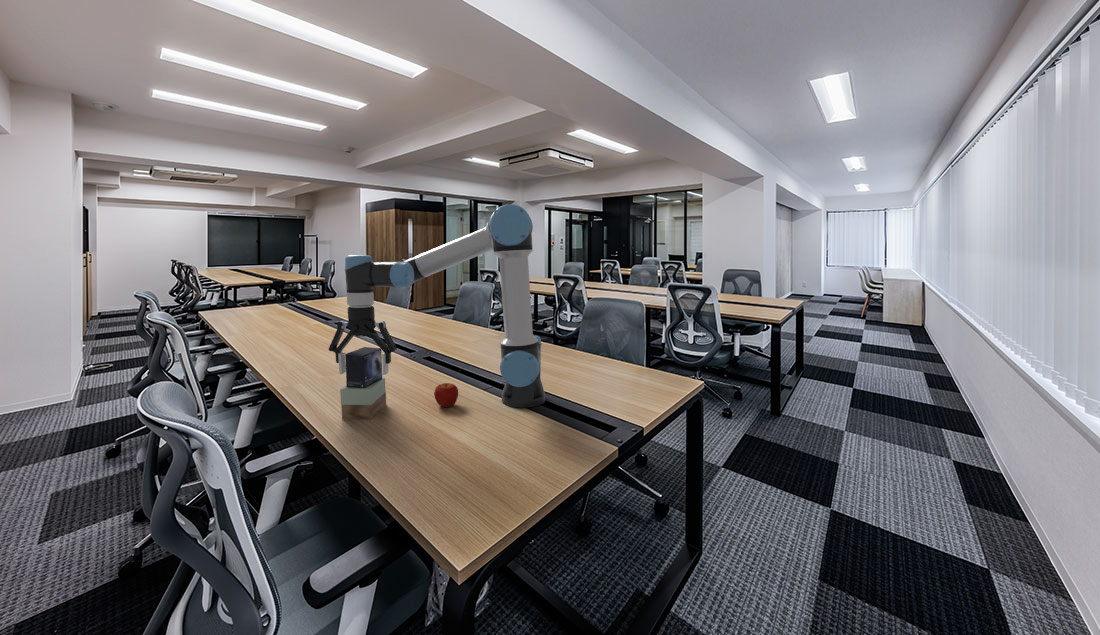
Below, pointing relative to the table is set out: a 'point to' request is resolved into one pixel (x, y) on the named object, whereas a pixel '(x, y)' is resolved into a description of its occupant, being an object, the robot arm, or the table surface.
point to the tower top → (362, 394)
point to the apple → (446, 394)
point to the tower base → (363, 409)
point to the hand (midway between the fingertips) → (364, 373)
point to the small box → (363, 367)
